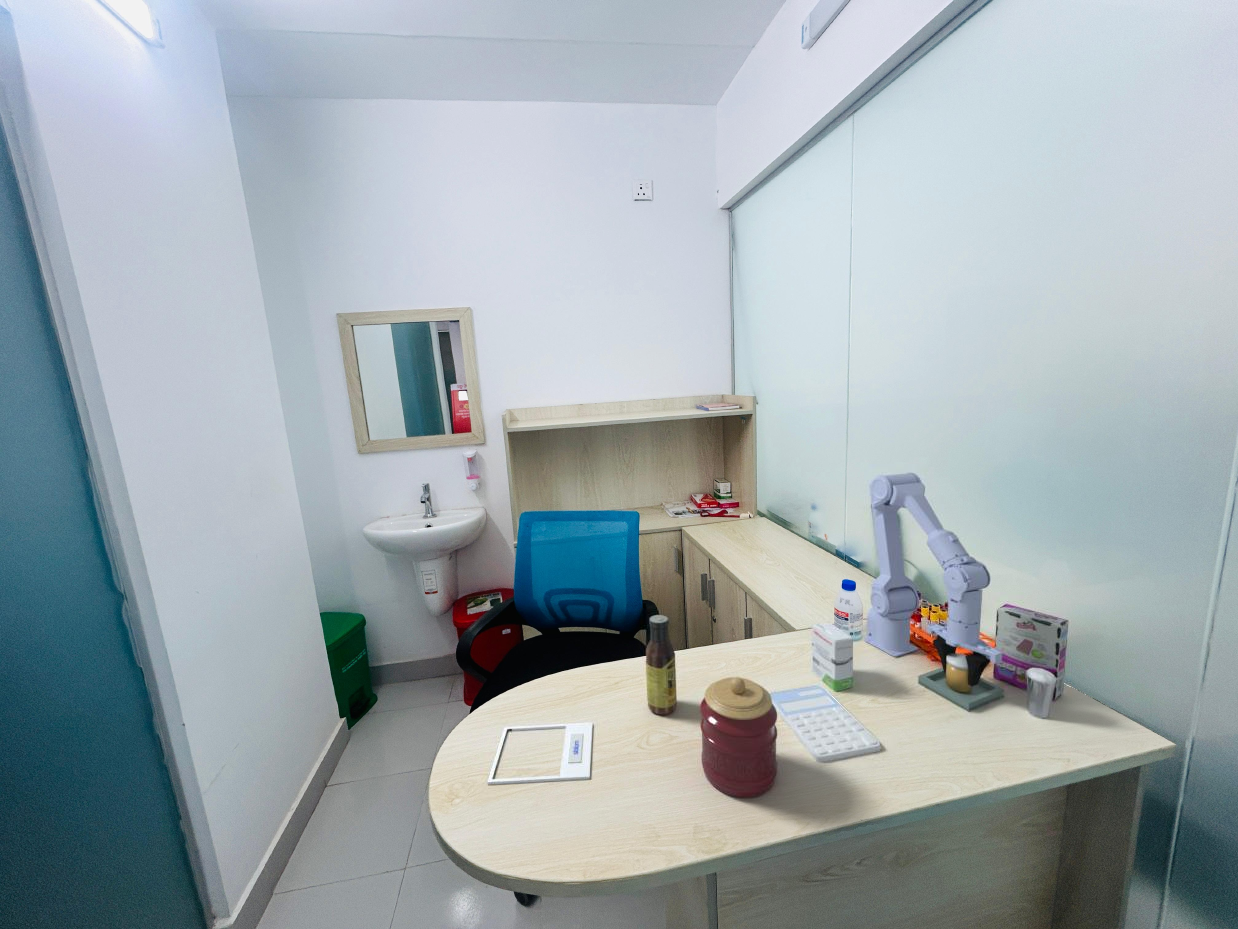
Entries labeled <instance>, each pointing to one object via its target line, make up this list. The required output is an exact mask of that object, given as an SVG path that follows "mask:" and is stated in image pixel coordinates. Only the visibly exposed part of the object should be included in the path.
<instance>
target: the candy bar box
mask: <svg viewBox="0 0 1238 929" xmlns="http://www.w3.org/2000/svg"><path fill="white" fill-rule="evenodd" d="M1068 632H1069V620H1068V619H1065V618H1061V617H1058V616H1054V615H1050V614H1046V613H1043V612H1039V611H1035V610H1031V609H1028V608H1024V607H1021V606H1017V605H1012V604H1008V603H1004V604H1003V605H1001V606H1000V607H999V608H997V609H996V621H995V640H994V649H996V650H998V651H1000V652H1002V661H1001V662H999V663H996V664H995V663H993V669H992V670H993V675H992V677H993V678H994V679H995V680H999V681H1001V682H1003V683H1005V684H1008V685H1011V686H1014V687H1016V688H1019V689H1021V690H1024V691H1027V677H1026V672H1027V670H1028V669H1030V668H1041V669H1044V670H1046V671H1049V672H1051V673H1052V674H1053V675H1054V676H1055V677H1056V678H1057V677H1058V676H1059V675H1060V673H1061V672H1062V671H1063V673H1062V674H1061V675H1060V676H1059V678H1058V679H1057V680H1056V685H1055V689H1054V693H1053V698H1052V702H1053V701H1054V702H1055V701H1057V699H1058V698H1060V696H1062V695H1063V693H1064V686H1065V672H1066V671H1065V670H1066V658H1067V655H1066V654H1067V645H1068Z"/></svg>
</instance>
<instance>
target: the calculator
mask: <svg viewBox="0 0 1238 929" xmlns="http://www.w3.org/2000/svg"><path fill="white" fill-rule="evenodd" d="M768 693H769V694H770V696H771V699H772V704H773V705H774V707H775V708H776V711H777V715H778V716H779V717H780V718H781V719H782V721H783V722H784V723H785V724H786V726H787V727H788V728H789V730H791V732H792V733H793V734H794V736H795V737H796V738H797V739H798V741H799V742H800V743H801V744H802V746H803V748H804V749H805V750H807V753H809V754H810V756H811V757H812V758H813V760H815V761H816V762H818V763H826V762H830V761H836V760H841V759H846V758H850V757H851V758H852V757H855V756H861V755H866V754H870V753H875V752H879V751H881V749H882V746H881V742H880V741H879V740H878V739H877V738H876V736H874V735H873V734H872V733H871V732H870V731H869V730H868V729H867V728H866V727H865V726H864V725H863V724H862V723H861V722H860V721H859V720H857V718H856V717H855V716H854V715H853V714H852V713H851V712H850V711H849V710H847V709H846V707H845V706H844V705H843V704H842V703H841V702H840V701H839V700H838V699H837V698H835V697H834V696H833V695H832V694H831V692H829V691H828V689H826V688H825V687H824V686H823V685H820V684H815V685H813V684H812V685H807V686H802V687H796V688H789V689H783V690H777V691H772V692H768Z"/></svg>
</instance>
